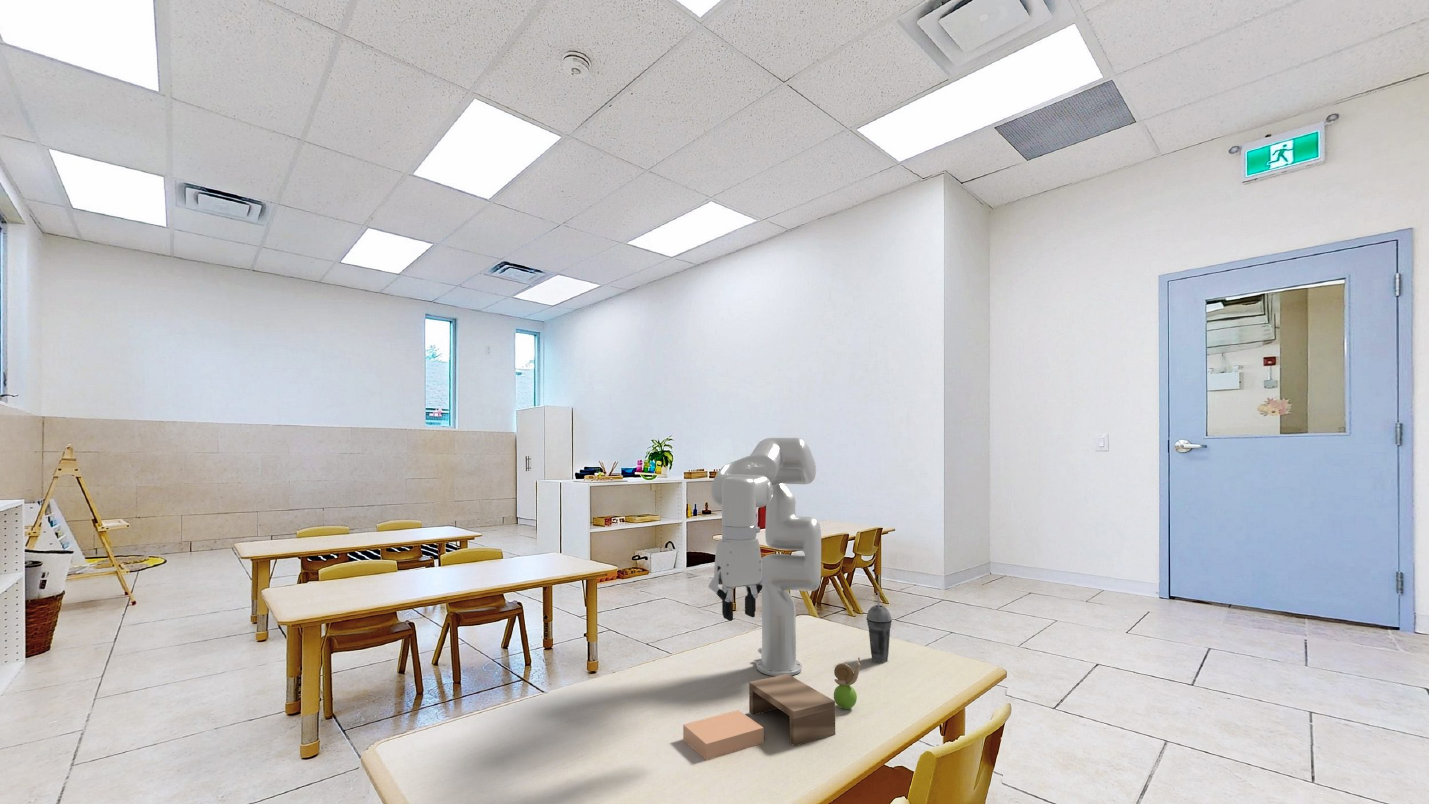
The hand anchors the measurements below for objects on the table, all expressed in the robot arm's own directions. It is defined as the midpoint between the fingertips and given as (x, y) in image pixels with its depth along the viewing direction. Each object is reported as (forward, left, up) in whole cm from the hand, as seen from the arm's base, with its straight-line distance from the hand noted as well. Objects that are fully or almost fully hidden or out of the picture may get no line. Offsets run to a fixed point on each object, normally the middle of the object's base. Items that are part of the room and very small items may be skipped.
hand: (739, 616), depth 134 cm
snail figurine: (0, +30, -26) cm, 39 cm away
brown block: (0, +13, -25) cm, 29 cm away
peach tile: (0, -4, -26) cm, 26 cm away
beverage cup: (-21, +60, -26) cm, 69 cm away
